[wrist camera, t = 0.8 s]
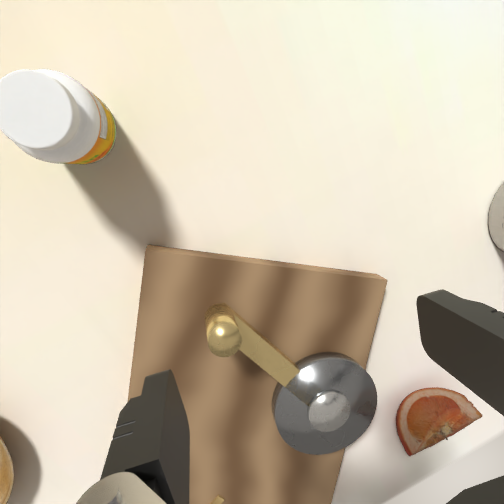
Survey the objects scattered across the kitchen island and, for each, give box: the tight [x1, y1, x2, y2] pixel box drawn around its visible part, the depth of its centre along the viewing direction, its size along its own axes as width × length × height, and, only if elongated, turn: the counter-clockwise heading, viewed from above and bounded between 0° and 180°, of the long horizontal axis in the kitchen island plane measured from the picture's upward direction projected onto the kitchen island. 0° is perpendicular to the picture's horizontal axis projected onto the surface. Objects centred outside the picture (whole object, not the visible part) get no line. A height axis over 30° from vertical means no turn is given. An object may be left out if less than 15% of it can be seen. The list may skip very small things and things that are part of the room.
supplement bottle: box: [0, 69, 116, 164], centre depth 24 cm, size 5×5×10 cm
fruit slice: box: [396, 388, 482, 456], centre depth 38 cm, size 8×7×5 cm
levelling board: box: [128, 245, 387, 504], centre depth 34 cm, size 22×26×5 cm
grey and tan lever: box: [204, 302, 377, 455], centre depth 31 cm, size 20×10×6 cm, turn 45°
